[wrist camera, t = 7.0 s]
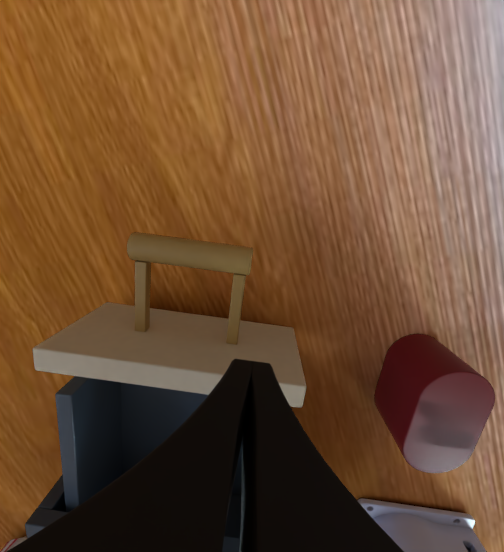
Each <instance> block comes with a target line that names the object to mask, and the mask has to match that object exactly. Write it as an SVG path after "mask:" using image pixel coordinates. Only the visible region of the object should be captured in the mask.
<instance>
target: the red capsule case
mask: <svg viewBox="0 0 504 552" xmlns="http://www.w3.org/2000/svg"><path fill="white" fill-rule="evenodd" d="M374 401H375V405H376V407H377V409H378V411H379V413H380V414H381V416H382V418H383V420H384V422H385V423H386V425H387V427H388V429H389V431H390V433H391V434H392V436H393V438H394V440H395V442H396V444H397V445H398V447H399V449H400V451H401V453H402V455H403V456H404V458H405V460H406V461H407V462H408V463H409V464H410V465H411V466H412V467H414V468H415V469H417V470H420V471H423V472H427V473H442V472H447V471H450V470H453V469H455V468H457V467H459V466H460V465H462V464H463V463H464V462H466V461H467V460H468V459H469V457H470V456H471V454H472V453H473V451H474V448H475V446H476V444H477V442H478V439H479V437H480V435H481V433H482V431H483V428H484V426H485V424H486V422H487V419H488V417H489V415H490V413H491V411H492V409H493V406H494V402H495V394H494V390H493V388H492V386H491V384H490V383H489V382H488V381H487V380H486V379H485V378H484V377H483V376H481V375H480V374H479V373H478V372H476V371H475V370H474V369H473V368H471V367H470V366H469V365H468V364H466V363H465V362H464V361H463V360H461V359H460V358H459V357H458V356H456V355H455V354H454V353H452V352H451V351H450V350H449V349H447V348H446V347H445V346H444V345H442V344H441V343H440V342H439V341H437V340H436V339H435V338H433V337H431V336H428V335H423V334H413V335H408V336H405V337H403V338H401V339H399V340H398V341H396V342H395V343H394V344H393V345H392V346H391V347H390V348H389V350H388V352H387V354H386V357H385V361H384V364H383V367H382V371H381V374H380V377H379V381H378V384H377V387H376V391H375V395H374Z"/></svg>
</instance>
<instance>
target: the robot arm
mask: <svg viewBox="0 0 504 552" xmlns="http://www.w3.org/2000/svg"><path fill="white" fill-rule="evenodd" d="M241 444H242V491H241V530H240V545H239V552H487V551H486V550H485V548H484V547H483V545H482V544H481V542H480V540H479V539H478V537H477V536H476V534H475V533H474V531H473V529H472V528H473V526H474V524H475V520H474V519H473V517H472V516H471V515H470V514H466V513H459V512H453V511H446V510H439V509H432V508H425V507H418V506H412V505H405V504H398V503H391V502H384V501H377V500H371V499H364V498H361V499H359V500H356V499H355V497H354V496H353V495H352V494H351V493H350V492H349V490H348V489H347V488H346V487H345V486H344V485H343V483H342V482H341V481H340V480H339V478H338V477H337V476H336V475H335V473H334V472H333V471H332V469H331V468H330V467H329V466H328V464H327V463H326V462H325V460H324V459H323V457H322V456H321V455H320V453H319V452H318V450H317V449H316V448H315V446H314V445H313V443H312V442H311V440H310V439H309V437H308V436H307V434H306V432H305V431H304V429H303V428H302V426H301V424H300V423H299V421H298V419H297V418H296V416H295V414H294V412H293V411H292V409H291V407H290V405H289V403H288V401H287V399H286V397H285V396H284V394H283V391H282V389H281V387H280V385H279V383H278V381H277V378H276V376H275V373H274V371H273V368H272V366H271V364H270V363H264V362H257V361H250V360H242V359H234V360H232V361H231V364H230V365H229V367H228V369H227V371H226V372H225V374H224V375H223V377H222V378H221V380H220V381H219V382H218V384H217V385H216V386H215V387H214V389H213V390H212V391H211V393H210V394H209V395H208V396H207V398H206V399H205V400H204V401H203V402H202V403H201V404H200V405H199V407H198V408H197V409H196V410H195V411H194V412H193V413H192V414H191V415H190V417H189V418H188V419H187V420H186V421H185V422H184V423H183V424H182V425H181V426H180V427H179V428H178V429H176V430H175V431H174V432H173V433H172V434H171V435H170V436H169V437H168V438H167V439H166V440H165V441H163V442H162V443H161V444H160V445H159V446H158V447H156V448H155V449H154V450H153V451H152V452H151V453H149V454H148V455H147V456H146V457H145V458H143V459H142V460H141V461H140V462H138V463H137V464H136V465H135V466H133V467H132V468H131V469H130V470H128V471H127V472H125V473H124V474H123V475H121V476H120V477H119V478H117V479H116V480H114V481H113V482H112V483H110V484H109V485H108V486H106V487H105V488H103V489H102V490H101V491H99V492H98V493H97V494H95V495H94V496H92V497H91V498H90V499H88V500H87V501H85V502H84V503H82V504H81V505H79V506H78V507H76V508H75V509H73V510H72V511H70V512H69V513H67V514H65V515H64V516H62V517H61V518H59V519H58V520H56V521H54V522H53V523H51V524H50V525H48V526H47V527H45V528H43V529H42V530H40V531H39V532H37V533H35V534H34V535H32V536H31V537H29V538H28V539H26V540H24V541H23V542H21V543H20V544H18V545H16V546H15V547H13V548H11V549H10V550H8V551H6V552H222V549H223V541H224V533H225V526H226V519H227V514H228V509H229V504H230V499H231V494H232V489H233V484H234V479H235V474H236V469H237V464H238V459H239V454H240V449H241Z"/></svg>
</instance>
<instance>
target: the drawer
mask: <svg viewBox="0 0 504 552" xmlns="http://www.w3.org/2000/svg"><path fill="white" fill-rule="evenodd" d="M127 252H128V256H129V257H130V259H132V260H137V261H135V306H131V305H124V304H117V303H109V302H107V303H105V304H103V305H102V306H100V307H98V308H97V309H95V310H94V311H92V312H90V313H89V314H87V315H86V316H84V317H82V318H81V319H79V320H77V321H76V322H74V323H73V324H71V325H69V326H68V327H66V328H64V329H63V330H61V331H60V332H58V333H56V334H55V335H53V336H51V337H50V338H48V339H47V340H45V341H43V342H42V343H40V344H39V345H37V346H35V347H34V348H33V357H34V366H35V370H37V371H44V372H51V373H58V374H65V375H72V376H75V377H74V378H72V379H71V380H70V381H69V382H68V383H67V384H66V385H65V386H64V387H62V388H61V389H60V390H59V391H58V392H57V393H56V395H55V396H56V407H57V418H58V429H59V440H60V451H61V462H62V473H63V483H64V494H65V505H66V512H70V511H72V510H73V509H75V508H76V507H78V506H79V505H81V504H82V503H84V502H85V501H87V500H88V499H90V498H91V497H92V496H94V495H95V494H97V493H98V492H99V491H101V490H102V489H103V488H105V487H106V486H108V485H109V484H110V483H112V482H113V481H114V480H116V479H117V478H119V477H120V476H121V475H123V474H124V473H125V472H127V471H128V470H130V469H131V468H132V467H133V466H135V465H136V464H137V463H138V462H140V461H141V460H142V459H143V458H145V457H146V456H147V455H148V454H149V453H151V452H152V451H153V450H154V449H155V448H156V447H158V446H159V445H160V444H161V443H162V442H163V441H165V440H166V439H167V438H168V437H169V436H170V435H171V434H172V433H173V432H174V431H175V430H176V429H178V428H179V427H180V426H181V425H182V424H183V423H184V422H185V421H186V420H187V419H188V418H189V417H190V415H191V414H192V413H193V412H194V411H195V410H196V409H197V408H198V407H199V405H200V404H201V403H202V402H203V401H204V400H205V399H206V398H207V396H208V395H209V394H210V393H211V391H212V390H213V389H214V387H215V386H216V385H217V384H218V382H219V381H220V380H221V378H222V377H223V375H224V374H225V372H226V371H227V369H228V367H229V365H230V364H231V361H232V360H234V359H242V360H250V361H257V362H264V363H270V364H271V366H272V368H273V371H274V373H275V376H276V378H277V381H278V383H279V385H280V387H281V389H282V391H283V394H284V396H285V397H286V399H287V401H288V403H289V405H290V406H291V407H299V408H302V406H303V401H304V397H305V392H306V382H305V378H304V373H303V369H302V364H301V360H300V355H299V351H298V346H297V342H296V337H295V333H294V328H292V327H285V326H278V325H270V324H263V323H256V322H248V321H241V320H240V319H241V311H242V303H243V295H244V287H245V279H246V275H250V270H251V263H252V256H253V248H252V247H245V246H237V245H230V244H222V243H214V242H207V241H199V240H192V239H184V238H177V237H169V236H161V235H154V234H146V233H139V232H134V233H132V234H131V235H130V237H129V239H128V243H127ZM151 262H153V263H161V264H168V265H175V266H183V267H190V268H198V269H205V270H213V271H220V272H228V273H234V275H233V284H232V293H231V302H230V312H229V319H227V318H219V317H212V316H205V315H197V314H190V313H183V312H175V311H168V310H161V309H153V308H150V282H151ZM241 491H242V444H241V449H240V454H239V459H238V464H237V469H236V474H235V479H234V484H233V489H232V494H231V499H230V504H229V509H228V514H227V519H226V526H225V533H224V536H229V537H236V538H240V530H241Z"/></svg>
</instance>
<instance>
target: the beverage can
mask: <svg viewBox="0 0 504 552" xmlns="http://www.w3.org/2000/svg"><path fill="white" fill-rule="evenodd" d="M26 539H27V536H25V537H23V538H17V539H13V540H10V541H9V542H7V543H6V544H5V545H4V546H3V548H2V549H1V550H0V552H6V551H8V550H10V549H11V548H13V547H15V546H16V545H18V544H20V543H21V542H23V541H24V540H26Z"/></svg>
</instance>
